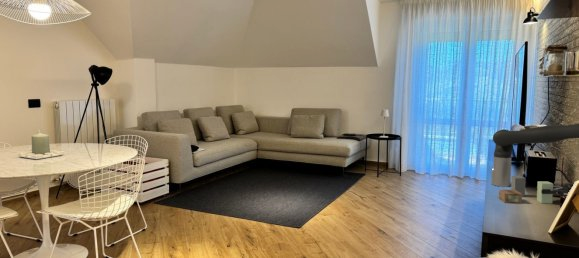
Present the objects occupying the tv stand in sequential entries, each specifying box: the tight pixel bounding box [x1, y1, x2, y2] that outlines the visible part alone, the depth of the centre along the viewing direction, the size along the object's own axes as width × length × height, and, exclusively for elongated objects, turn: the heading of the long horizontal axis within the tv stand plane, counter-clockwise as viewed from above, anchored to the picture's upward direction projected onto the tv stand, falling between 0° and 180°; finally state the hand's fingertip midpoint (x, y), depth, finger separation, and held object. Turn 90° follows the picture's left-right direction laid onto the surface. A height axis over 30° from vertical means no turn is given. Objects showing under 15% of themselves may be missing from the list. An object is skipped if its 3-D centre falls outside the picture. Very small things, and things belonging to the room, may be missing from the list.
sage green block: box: [536, 181, 554, 204], centre depth 200 cm, size 5×5×10 cm
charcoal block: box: [510, 175, 526, 198], centre depth 213 cm, size 5×5×10 cm
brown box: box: [498, 189, 523, 204], centre depth 203 cm, size 8×8×5 cm
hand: (539, 190), depth 200 cm, fingers closed on sage green block, 5 cm apart
